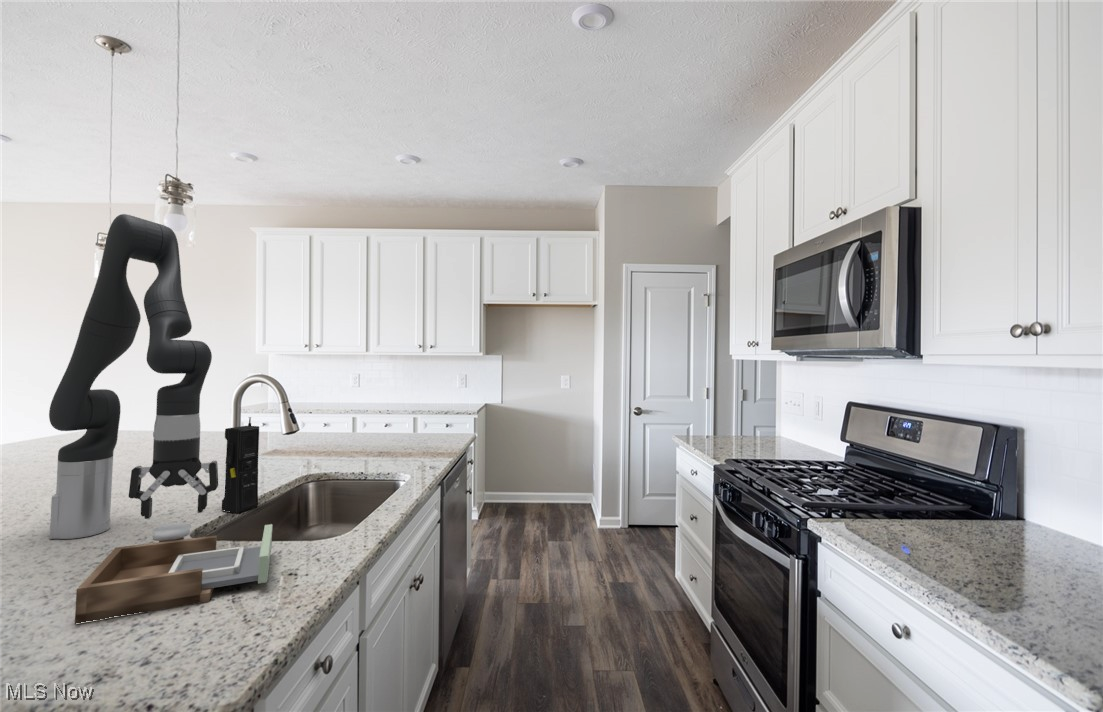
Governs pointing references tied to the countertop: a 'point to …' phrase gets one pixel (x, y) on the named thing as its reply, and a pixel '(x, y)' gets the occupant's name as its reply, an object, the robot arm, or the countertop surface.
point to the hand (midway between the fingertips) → (174, 514)
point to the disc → (171, 531)
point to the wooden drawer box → (142, 580)
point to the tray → (229, 563)
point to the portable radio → (241, 468)
